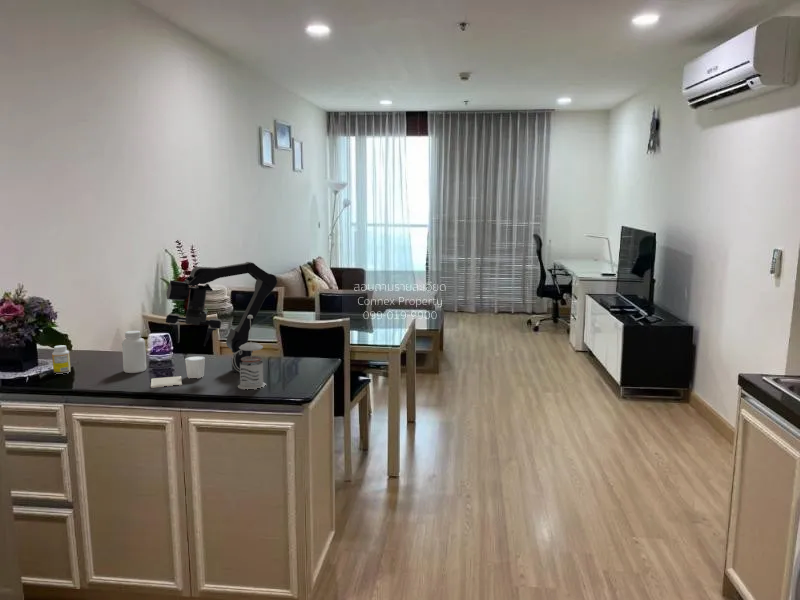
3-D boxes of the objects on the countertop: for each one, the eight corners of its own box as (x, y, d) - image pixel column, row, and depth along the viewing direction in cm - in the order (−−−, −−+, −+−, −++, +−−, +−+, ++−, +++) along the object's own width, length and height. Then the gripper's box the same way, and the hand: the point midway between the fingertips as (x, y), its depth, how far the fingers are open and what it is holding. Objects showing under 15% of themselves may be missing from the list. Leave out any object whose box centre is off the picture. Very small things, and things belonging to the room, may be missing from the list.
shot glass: (209, 375, 223) (208, 357, 222) (196, 380, 217) (195, 361, 216) (195, 373, 226) (194, 354, 225) (181, 377, 220) (180, 359, 218)
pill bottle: (118, 372, 226) (116, 332, 224) (135, 367, 234) (133, 329, 231) (134, 374, 223) (132, 334, 221) (151, 369, 231) (149, 330, 228)
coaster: (181, 377, 219) (181, 375, 219) (181, 385, 210) (181, 383, 210) (151, 380, 216) (151, 378, 216) (150, 387, 207) (150, 385, 206)
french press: (259, 390, 205) (257, 317, 201) (227, 388, 207) (225, 316, 203) (270, 382, 214) (269, 313, 211) (240, 380, 216) (238, 311, 213)
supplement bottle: (59, 371, 227) (57, 344, 226) (73, 371, 227) (72, 344, 225) (50, 374, 222) (48, 347, 220) (64, 375, 221) (62, 348, 220)
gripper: (166, 300, 208) (160, 345, 209) (222, 307, 213) (216, 351, 214) (170, 297, 219) (165, 340, 220) (223, 304, 224) (218, 345, 225)
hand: (191, 344), depth 219 cm, fingers open, 9 cm apart
